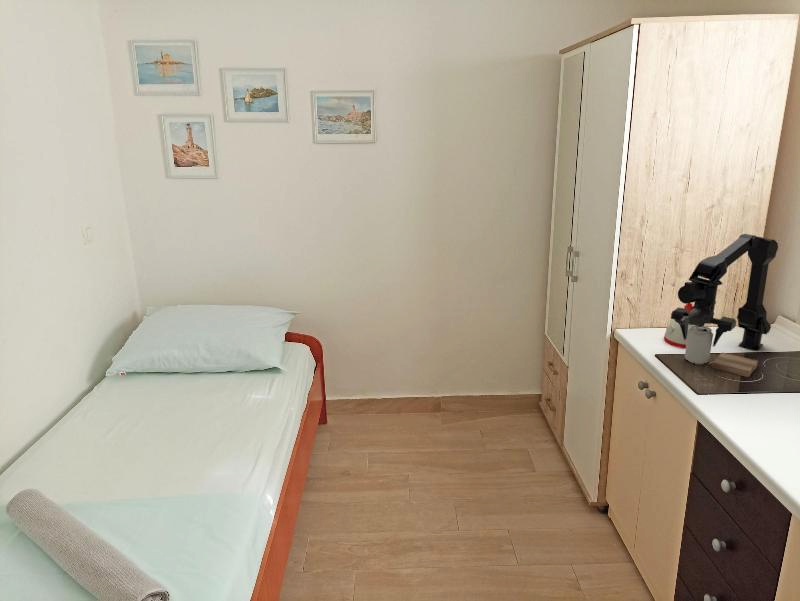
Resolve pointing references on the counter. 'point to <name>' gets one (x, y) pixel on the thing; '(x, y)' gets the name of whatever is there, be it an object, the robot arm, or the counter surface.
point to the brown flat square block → (735, 364)
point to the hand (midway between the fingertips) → (699, 342)
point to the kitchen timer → (677, 332)
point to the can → (698, 344)
